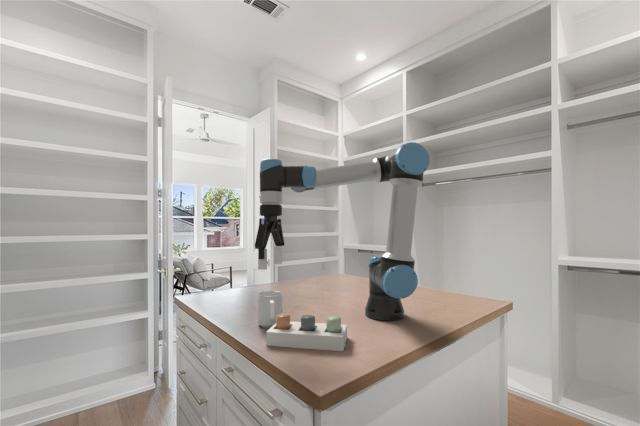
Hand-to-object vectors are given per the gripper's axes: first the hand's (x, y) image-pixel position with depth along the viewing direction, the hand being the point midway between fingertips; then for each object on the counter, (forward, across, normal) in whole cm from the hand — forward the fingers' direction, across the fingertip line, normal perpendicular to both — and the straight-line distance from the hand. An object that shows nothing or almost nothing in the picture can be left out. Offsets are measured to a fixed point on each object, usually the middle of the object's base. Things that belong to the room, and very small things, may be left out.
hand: (270, 266), depth 105 cm
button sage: (+18, +6, +23) cm, 30 cm away
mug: (+22, -5, -2) cm, 23 cm away
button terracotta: (+18, +7, +7) cm, 21 cm away
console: (+22, +6, +15) cm, 27 cm away
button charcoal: (+18, +6, +15) cm, 25 cm away
